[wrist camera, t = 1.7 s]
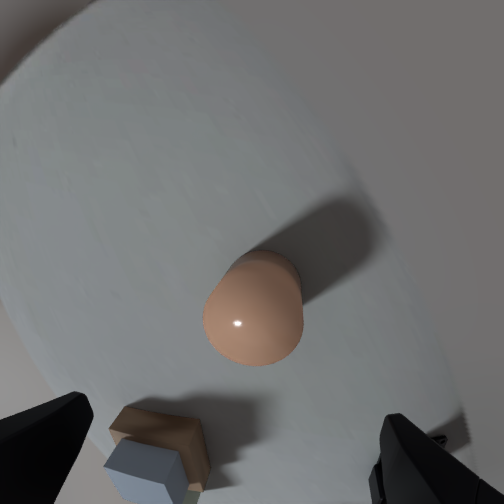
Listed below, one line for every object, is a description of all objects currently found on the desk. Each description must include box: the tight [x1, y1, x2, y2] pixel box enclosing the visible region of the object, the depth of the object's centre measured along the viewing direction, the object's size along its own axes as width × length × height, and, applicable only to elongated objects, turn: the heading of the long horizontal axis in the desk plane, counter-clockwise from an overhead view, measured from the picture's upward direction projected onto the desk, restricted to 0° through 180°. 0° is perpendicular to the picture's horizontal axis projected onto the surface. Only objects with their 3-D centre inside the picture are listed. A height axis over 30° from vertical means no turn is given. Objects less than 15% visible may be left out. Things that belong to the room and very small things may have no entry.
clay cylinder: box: [203, 250, 304, 366], centre depth 16 cm, size 5×5×5 cm
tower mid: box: [104, 438, 189, 504], centre depth 18 cm, size 5×5×4 cm
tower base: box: [109, 407, 211, 492], centre depth 22 cm, size 7×7×4 cm
